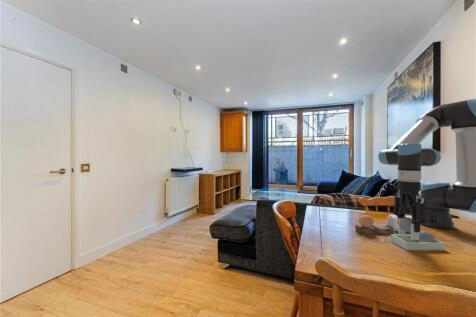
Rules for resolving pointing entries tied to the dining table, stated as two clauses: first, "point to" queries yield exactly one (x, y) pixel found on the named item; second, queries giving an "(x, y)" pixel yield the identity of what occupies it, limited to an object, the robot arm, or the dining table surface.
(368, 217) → the ball terracotta
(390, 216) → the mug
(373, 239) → the pair card
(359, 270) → the dining table surface
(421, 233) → the grey ball
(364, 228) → the rail
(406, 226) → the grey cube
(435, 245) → the trough
